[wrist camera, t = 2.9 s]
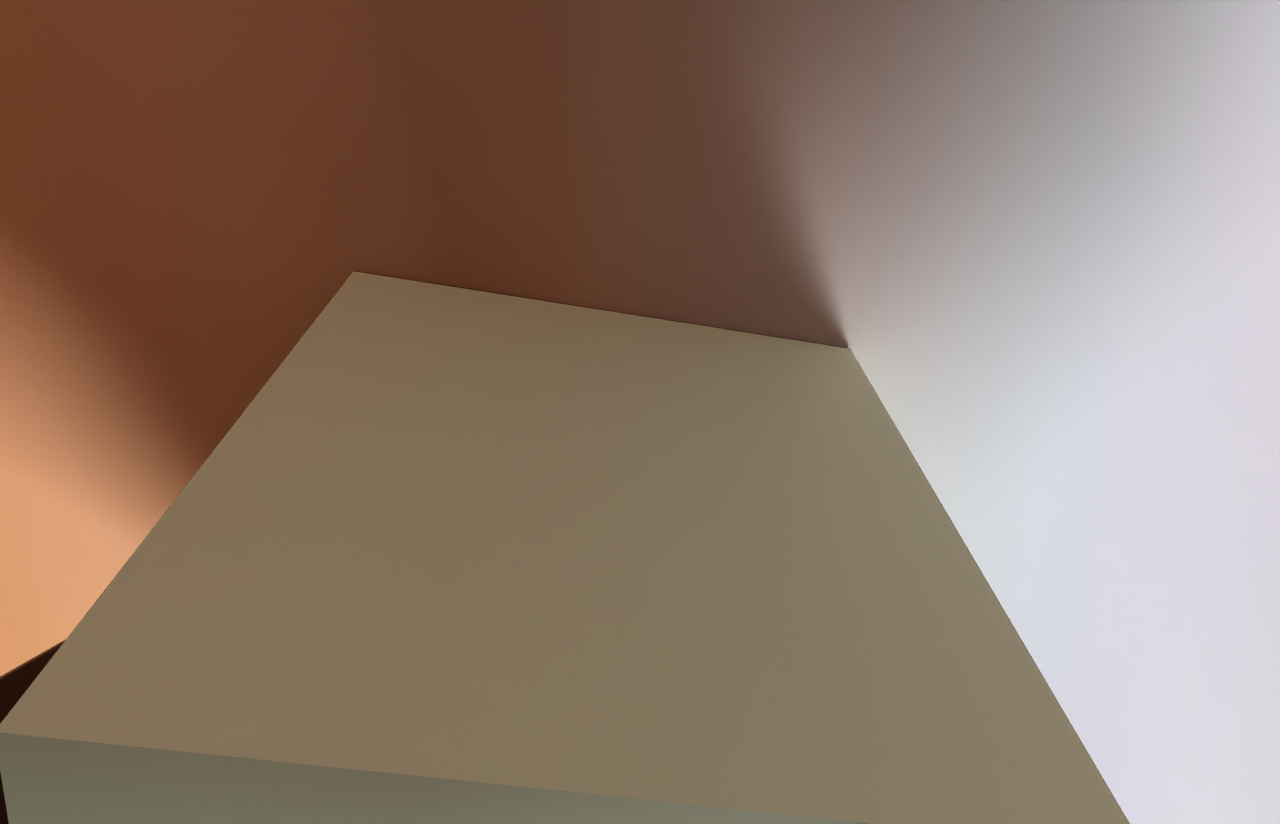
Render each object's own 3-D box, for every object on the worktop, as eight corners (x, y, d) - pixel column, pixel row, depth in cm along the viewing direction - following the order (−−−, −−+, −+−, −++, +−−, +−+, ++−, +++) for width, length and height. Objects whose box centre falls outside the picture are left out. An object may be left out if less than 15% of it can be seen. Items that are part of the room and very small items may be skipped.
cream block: (742, 714, 12) (852, 1354, 7) (335, 668, 11) (89, 1318, 6) (850, 349, 10) (1148, 852, 4) (352, 271, 9) (-7, 731, 4)
